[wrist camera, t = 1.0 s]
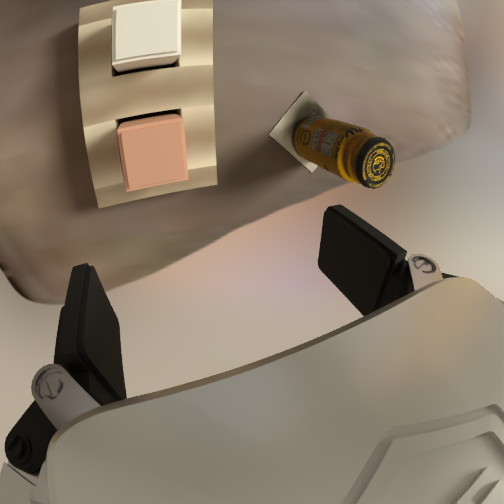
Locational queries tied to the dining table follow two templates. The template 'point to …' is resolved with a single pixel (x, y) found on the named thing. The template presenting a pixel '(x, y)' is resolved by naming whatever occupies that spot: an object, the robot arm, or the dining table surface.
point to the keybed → (146, 99)
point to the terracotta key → (153, 151)
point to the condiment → (334, 144)
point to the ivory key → (146, 34)
